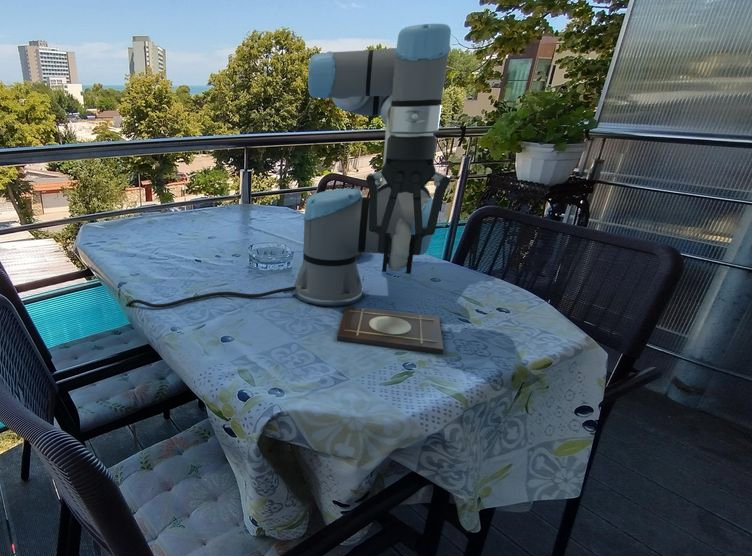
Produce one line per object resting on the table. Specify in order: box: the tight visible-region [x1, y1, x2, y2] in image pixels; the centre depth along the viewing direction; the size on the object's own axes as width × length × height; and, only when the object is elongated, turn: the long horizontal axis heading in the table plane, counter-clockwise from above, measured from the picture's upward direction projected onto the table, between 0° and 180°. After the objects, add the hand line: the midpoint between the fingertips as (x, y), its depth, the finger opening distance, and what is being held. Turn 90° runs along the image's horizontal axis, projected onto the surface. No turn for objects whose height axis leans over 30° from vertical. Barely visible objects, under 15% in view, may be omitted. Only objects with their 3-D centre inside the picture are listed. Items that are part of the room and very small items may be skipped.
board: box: [336, 305, 444, 355], centre depth 89 cm, size 18×14×1 cm
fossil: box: [387, 218, 412, 272], centre depth 83 cm, size 6×4×10 cm, turn 167°
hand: (396, 270), depth 84 cm, fingers closed on fossil, 3 cm apart
